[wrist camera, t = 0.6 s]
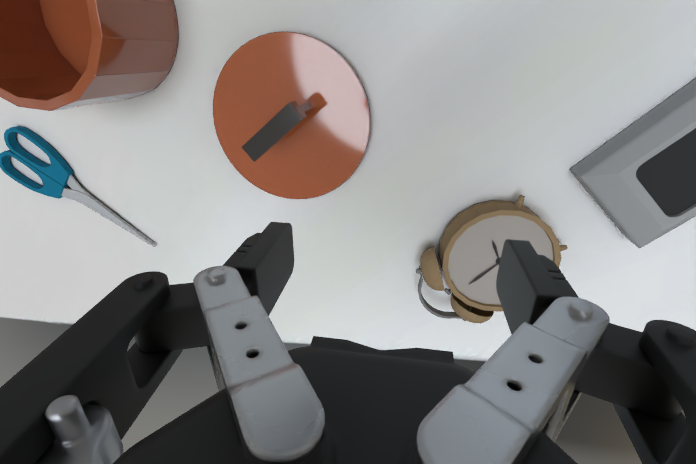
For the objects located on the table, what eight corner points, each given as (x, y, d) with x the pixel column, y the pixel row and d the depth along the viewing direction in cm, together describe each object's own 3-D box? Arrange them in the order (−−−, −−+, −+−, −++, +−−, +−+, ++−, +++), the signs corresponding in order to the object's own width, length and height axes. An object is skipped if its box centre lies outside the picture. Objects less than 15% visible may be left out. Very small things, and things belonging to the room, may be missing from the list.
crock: (0, 26, 38) (-127, 17, 29) (99, -154, 30) (-31, -241, 21) (112, 141, 41) (30, 164, 32) (226, 5, 34) (160, -12, 25)
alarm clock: (587, 265, 36) (465, 355, 39) (561, 247, 41) (454, 329, 44) (517, 183, 34) (394, 286, 37) (497, 174, 38) (390, 266, 42)
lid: (188, 107, 38) (148, 117, 33) (296, -10, 32) (271, -24, 27) (290, 221, 42) (270, 248, 36) (403, 135, 36) (402, 151, 30)
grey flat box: (585, 180, 32) (790, 39, 26) (569, 169, 35) (747, 40, 29) (646, 254, 34) (850, 138, 28) (625, 236, 37) (803, 129, 31)
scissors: (7, 121, 41) (163, 229, 44) (15, 120, 42) (168, 225, 45) (-5, 167, 44) (143, 265, 47) (3, 165, 45) (148, 261, 48)
